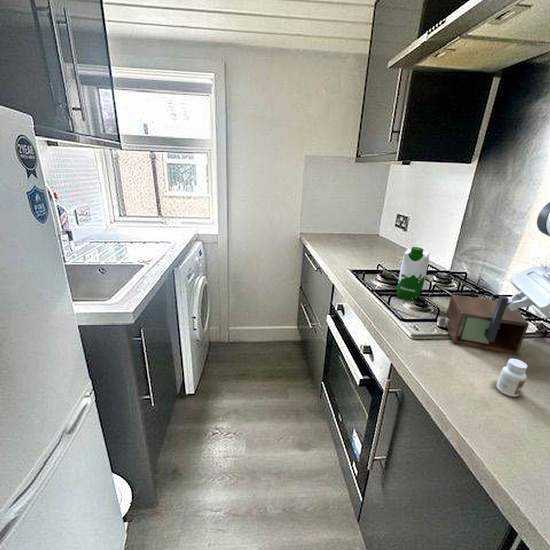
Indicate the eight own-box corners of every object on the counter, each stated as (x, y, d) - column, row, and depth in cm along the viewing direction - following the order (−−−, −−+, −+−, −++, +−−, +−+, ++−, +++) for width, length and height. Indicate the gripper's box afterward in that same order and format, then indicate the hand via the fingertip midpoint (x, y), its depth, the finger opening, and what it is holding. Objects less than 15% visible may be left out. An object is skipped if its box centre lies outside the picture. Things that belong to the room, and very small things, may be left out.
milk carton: (393, 297, 117) (403, 247, 110) (398, 289, 124) (408, 242, 117) (418, 303, 112) (429, 252, 105) (421, 295, 120) (433, 246, 112)
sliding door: (487, 343, 87) (504, 293, 81) (492, 350, 83) (510, 299, 78) (460, 338, 89) (475, 289, 83) (463, 345, 85) (479, 295, 80)
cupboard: (500, 330, 96) (509, 302, 92) (517, 354, 84) (529, 323, 80) (444, 321, 100) (451, 294, 97) (453, 343, 88) (461, 313, 85)
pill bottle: (520, 400, 68) (531, 372, 65) (496, 392, 70) (506, 364, 67) (517, 388, 71) (528, 361, 68) (495, 381, 73) (505, 354, 71)
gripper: (539, 255, 82) (487, 283, 88) (584, 282, 64) (515, 314, 70) (552, 273, 82) (500, 299, 89) (601, 304, 64) (531, 335, 71)
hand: (507, 306), depth 79 cm, fingers closed
